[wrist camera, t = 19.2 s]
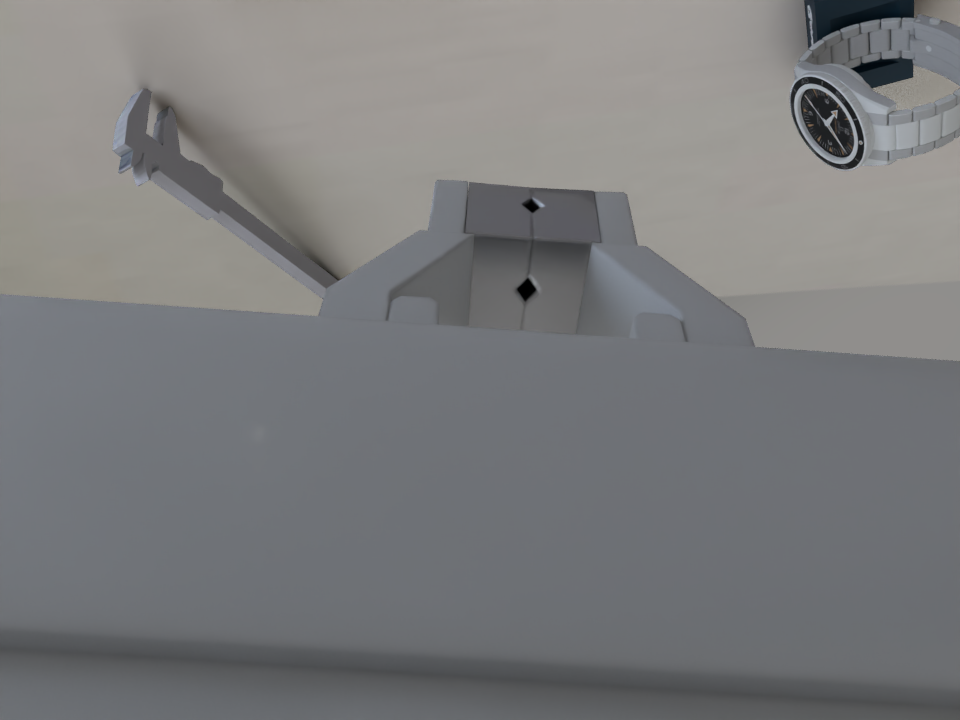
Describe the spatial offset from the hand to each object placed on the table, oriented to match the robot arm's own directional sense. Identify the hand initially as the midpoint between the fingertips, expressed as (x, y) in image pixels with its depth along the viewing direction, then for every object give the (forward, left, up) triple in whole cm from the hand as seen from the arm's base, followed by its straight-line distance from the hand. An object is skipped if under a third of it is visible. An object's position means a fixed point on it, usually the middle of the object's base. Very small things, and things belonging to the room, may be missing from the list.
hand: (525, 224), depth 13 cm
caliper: (+28, -15, -32) cm, 45 cm away
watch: (+11, +17, -32) cm, 38 cm away
